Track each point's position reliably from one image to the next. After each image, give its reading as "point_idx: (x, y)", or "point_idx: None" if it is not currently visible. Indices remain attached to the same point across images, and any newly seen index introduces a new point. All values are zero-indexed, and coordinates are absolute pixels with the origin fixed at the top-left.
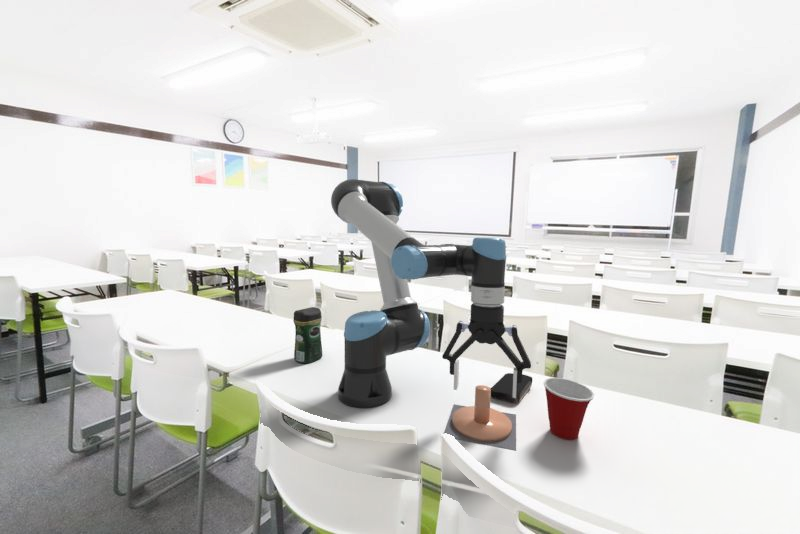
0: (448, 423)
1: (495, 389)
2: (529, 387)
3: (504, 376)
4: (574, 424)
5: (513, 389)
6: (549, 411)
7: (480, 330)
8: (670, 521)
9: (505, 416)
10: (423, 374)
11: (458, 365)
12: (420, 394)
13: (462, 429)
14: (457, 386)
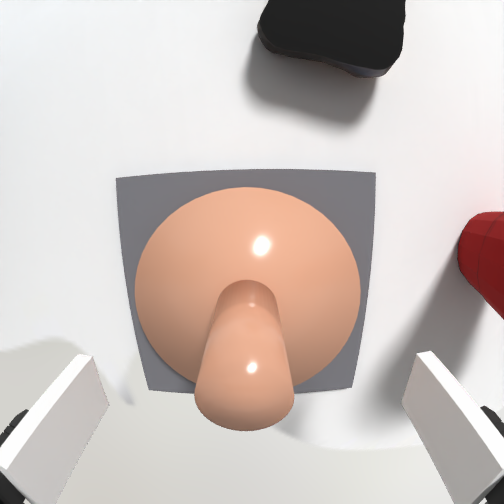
0: (137, 326)
1: (285, 27)
2: None
3: None
4: None
5: (419, 431)
6: (496, 293)
7: None
8: (497, 407)
9: (341, 246)
10: (20, 14)
11: (33, 458)
12: (14, 146)
13: (193, 380)
14: (98, 389)
